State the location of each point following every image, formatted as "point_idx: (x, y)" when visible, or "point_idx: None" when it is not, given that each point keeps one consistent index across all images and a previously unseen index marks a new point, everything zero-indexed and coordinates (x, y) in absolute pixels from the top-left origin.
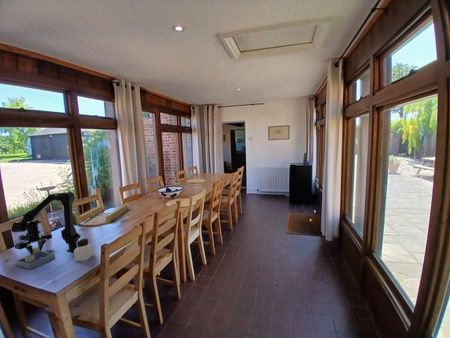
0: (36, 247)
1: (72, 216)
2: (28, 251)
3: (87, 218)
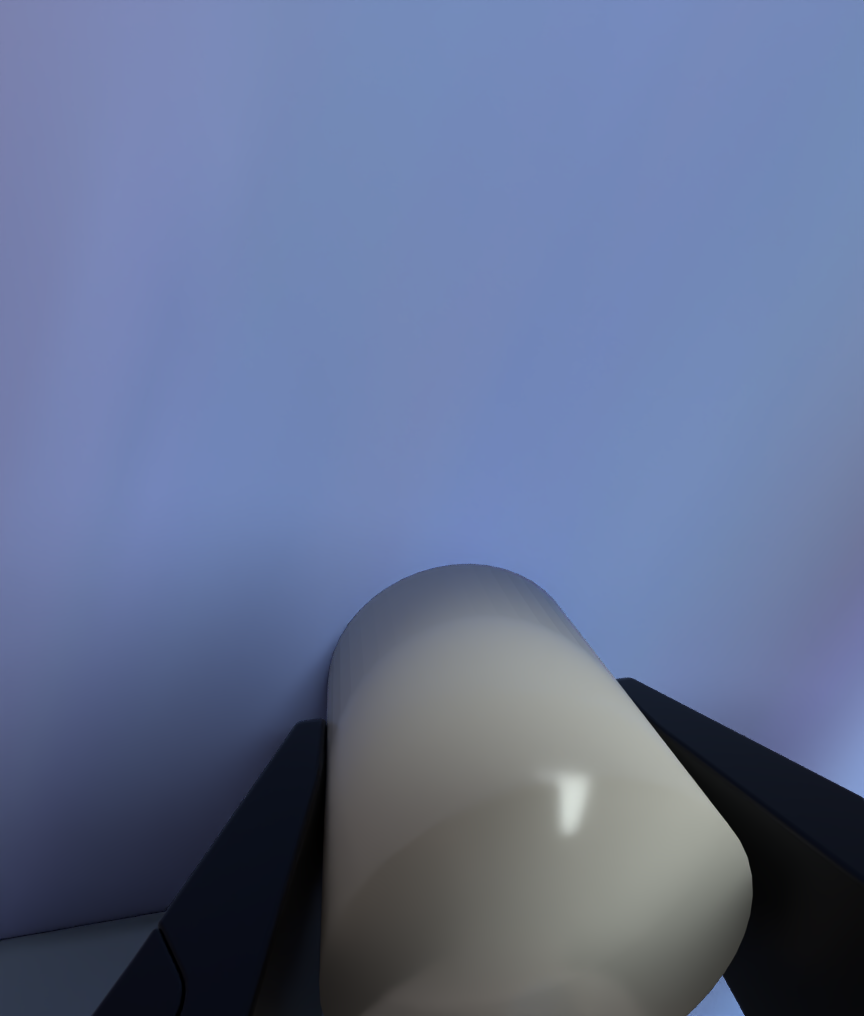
0: (671, 869)
1: None
2: (187, 890)
3: None
